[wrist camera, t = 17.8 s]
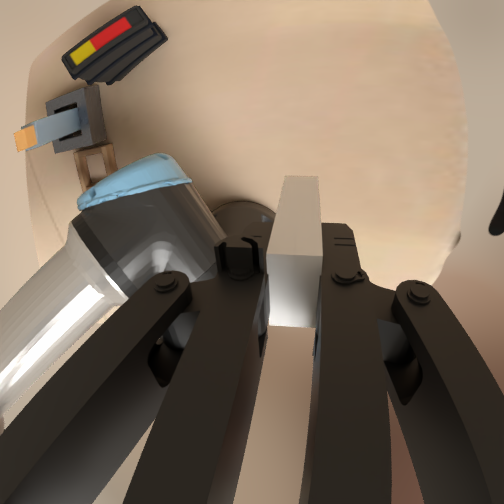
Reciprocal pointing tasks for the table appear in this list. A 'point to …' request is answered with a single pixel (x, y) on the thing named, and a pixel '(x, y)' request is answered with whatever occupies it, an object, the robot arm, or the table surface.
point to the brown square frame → (83, 168)
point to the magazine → (114, 48)
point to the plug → (47, 129)
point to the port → (80, 118)
